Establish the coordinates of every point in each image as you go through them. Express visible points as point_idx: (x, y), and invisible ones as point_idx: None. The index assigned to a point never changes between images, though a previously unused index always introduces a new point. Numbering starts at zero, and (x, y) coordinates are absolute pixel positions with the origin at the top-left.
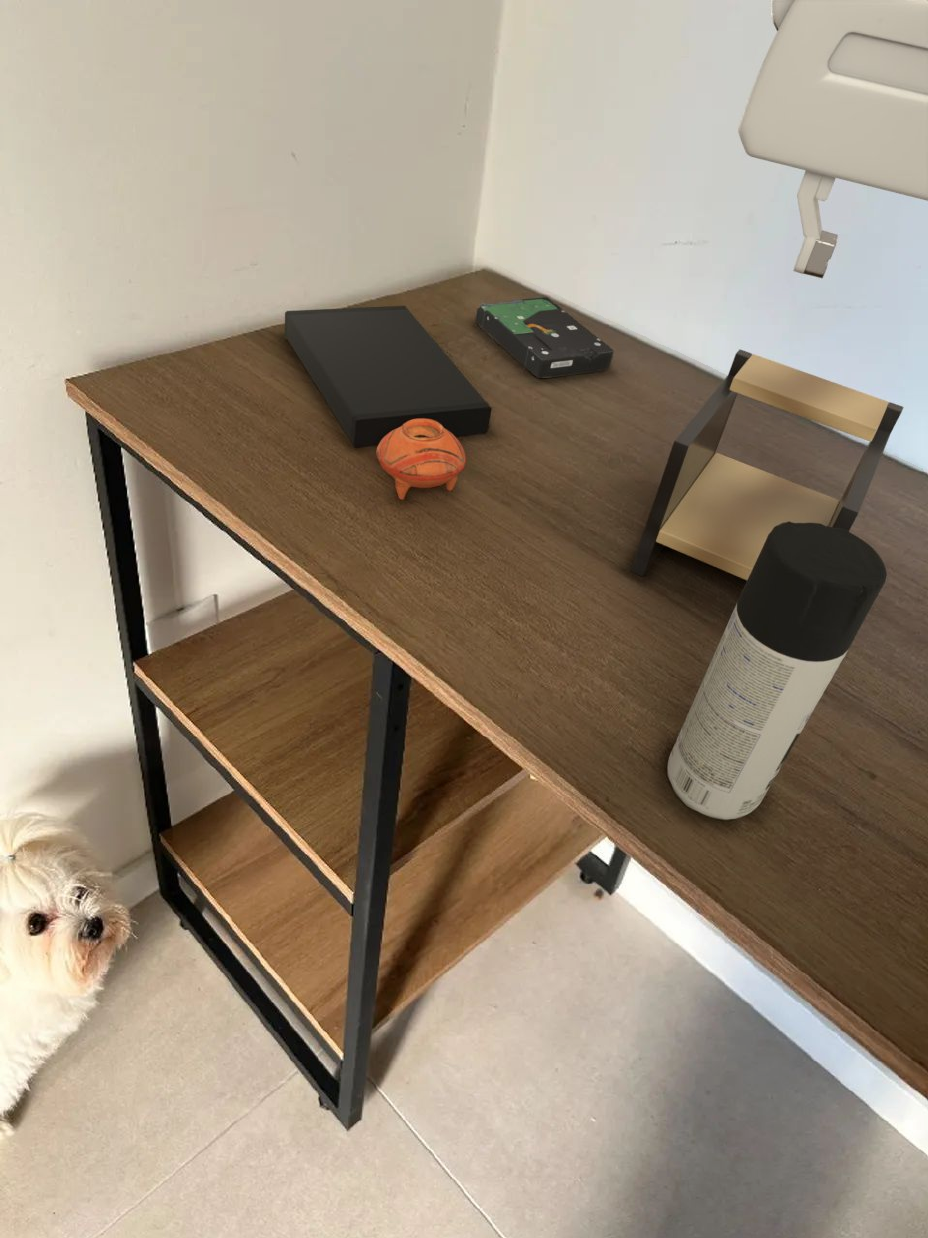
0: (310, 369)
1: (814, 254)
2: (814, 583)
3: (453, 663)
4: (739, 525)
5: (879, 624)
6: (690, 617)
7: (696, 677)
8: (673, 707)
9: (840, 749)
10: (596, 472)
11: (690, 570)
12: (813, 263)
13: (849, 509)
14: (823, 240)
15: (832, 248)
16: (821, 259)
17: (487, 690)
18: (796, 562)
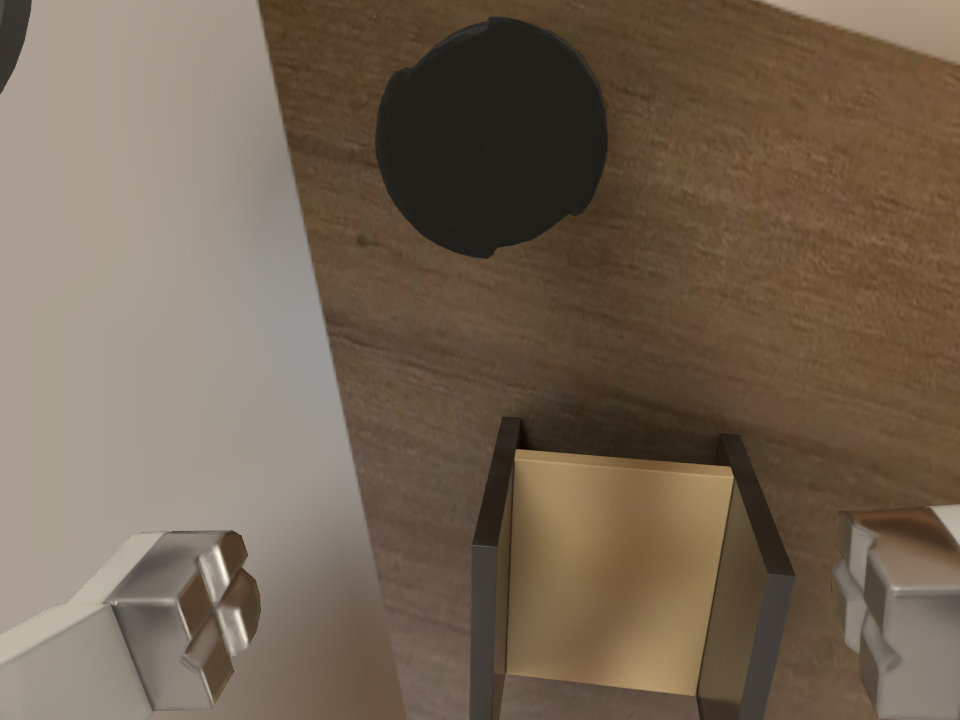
0: None
1: (944, 548)
2: (491, 24)
3: (943, 100)
4: (624, 549)
5: (410, 509)
6: (636, 391)
7: (600, 282)
8: (614, 209)
9: (404, 263)
10: None
11: None
12: (918, 523)
13: (486, 545)
14: (956, 599)
15: (891, 580)
16: (900, 540)
17: (875, 78)
18: (537, 68)
